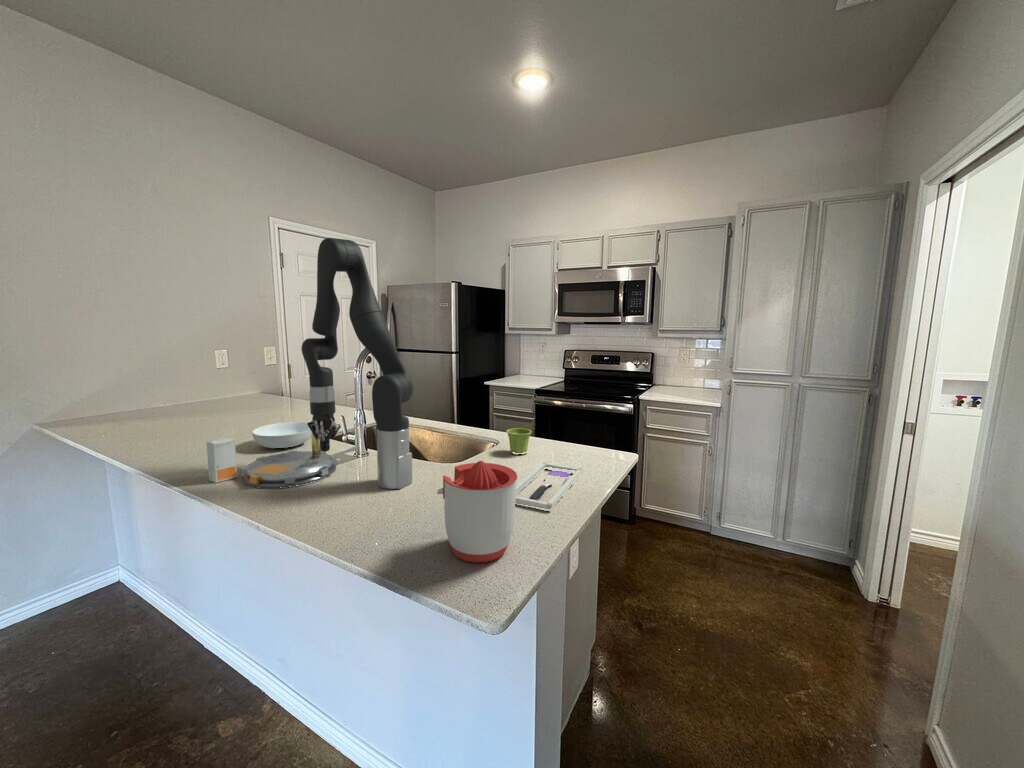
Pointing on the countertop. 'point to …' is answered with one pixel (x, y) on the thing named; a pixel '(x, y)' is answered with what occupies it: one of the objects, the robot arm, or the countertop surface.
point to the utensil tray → (555, 498)
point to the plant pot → (518, 439)
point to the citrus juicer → (479, 510)
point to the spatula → (544, 487)
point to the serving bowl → (282, 434)
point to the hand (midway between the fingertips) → (325, 450)
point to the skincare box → (221, 459)
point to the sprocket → (290, 466)
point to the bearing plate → (278, 485)
